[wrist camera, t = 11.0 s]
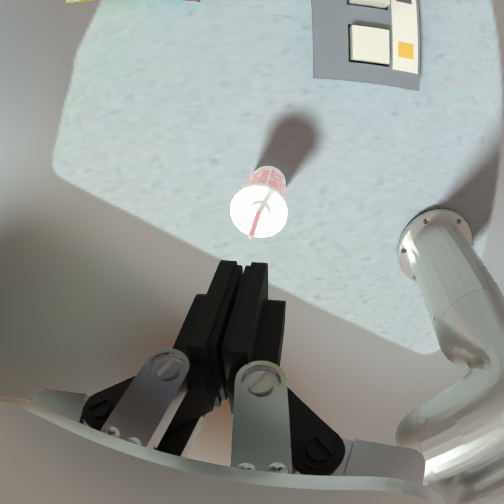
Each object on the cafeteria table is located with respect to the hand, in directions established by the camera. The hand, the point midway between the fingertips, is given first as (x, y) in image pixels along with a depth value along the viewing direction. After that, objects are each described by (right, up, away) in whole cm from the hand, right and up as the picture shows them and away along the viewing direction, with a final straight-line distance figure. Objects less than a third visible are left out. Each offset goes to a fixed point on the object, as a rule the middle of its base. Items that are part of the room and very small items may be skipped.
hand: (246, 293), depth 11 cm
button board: (+13, +31, +12) cm, 36 cm away
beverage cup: (+2, +11, +28) cm, 30 cm away
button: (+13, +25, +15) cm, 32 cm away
